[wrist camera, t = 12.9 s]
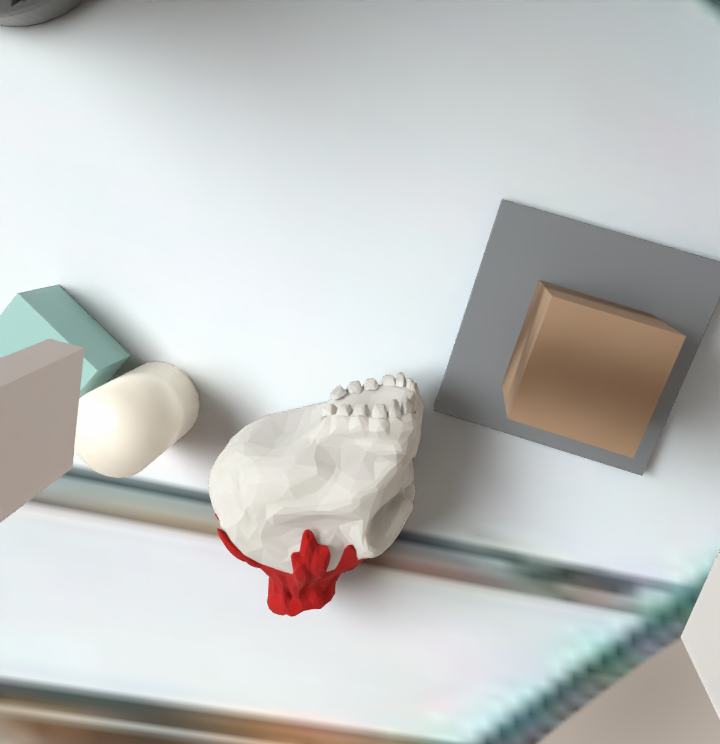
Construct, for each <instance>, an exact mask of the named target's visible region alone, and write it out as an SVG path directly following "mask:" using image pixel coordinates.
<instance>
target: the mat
mask: <svg viewBox="0 0 720 744" xmlns="http://www.w3.org/2000/svg"><path fill="white" fill-rule="evenodd" d="M539 280H540V281H544V282H547V283H550V284H554V285H557V286H560V287H564V288H567V289H570V290H574V291H577V292H580V293H584V294H587V295H590V296H594V297H597V298H600V299H604V300H607V301H610V302H614V303H617V304H620V305H624V306H627V307H630V308H634V309H637V310H640V311H644V312H647V313H650V314H652V315H654V316H655V317H657V318H658V319H660V320H661V321H663V322H664V323H666V324H668V325H669V326H671V327H672V328H674V329H675V330H677V331H678V332H680V333H681V334H683V335H685V336H686V338H685V340H684V342H683V345H682V347H681V349H680V352H679V354H678V356H677V359H676V361H675V363H674V365H673V368H672V370H671V372H670V375H669V377H668V379H667V382H666V384H665V386H664V389H663V391H662V393H661V396H660V398H659V400H658V403H657V405H656V407H655V409H654V412H653V414H652V416H651V419H650V421H649V423H648V426H647V428H646V430H645V433H644V435H643V437H642V440H641V442H640V444H639V446H638V449H637V451H636V453H635V456H634V458H631V457H628V456H624V455H621V454H618V453H615V452H612V451H609V450H605V449H602V448H599V447H596V446H593V445H590V444H586V443H583V442H580V441H577V440H574V439H571V438H567V437H564V436H561V435H558V434H555V433H552V432H548V431H545V430H542V429H539V428H536V427H533V426H530V425H526V424H523V423H520V422H517V421H514V420H511V419H507V413H506V407H505V402H504V396H503V390H502V382H503V379H504V376H505V373H506V370H507V368H508V365H509V362H510V359H511V357H512V354H513V351H514V348H515V345H516V343H517V340H518V337H519V334H520V331H521V329H522V326H523V323H524V320H525V317H526V315H527V312H528V309H529V306H530V303H531V301H532V298H533V295H534V292H535V289H536V287H537V284H538V281H539ZM719 298H720V262H718V261H715V260H712V259H708V258H705V257H701V256H698V255H694V254H691V253H687V252H684V251H680V250H677V249H673V248H670V247H666V246H663V245H659V244H656V243H652V242H649V241H645V240H642V239H638V238H635V237H632V236H628V235H625V234H621V233H618V232H614V231H611V230H607V229H604V228H600V227H597V226H593V225H590V224H586V223H583V222H579V221H576V220H572V219H569V218H565V217H562V216H558V215H555V214H552V213H548V212H545V211H541V210H538V209H534V208H531V207H527V206H524V205H520V204H517V203H513V202H510V201H506V200H503V199H502V200H501V204H500V207H499V210H498V213H497V216H496V219H495V222H494V225H493V228H492V231H491V234H490V237H489V240H488V243H487V246H486V249H485V253H484V256H483V259H482V262H481V265H480V268H479V271H478V274H477V277H476V280H475V283H474V286H473V289H472V292H471V295H470V298H469V302H468V305H467V308H466V311H465V314H464V317H463V320H462V323H461V326H460V329H459V332H458V335H457V338H456V341H455V344H454V347H453V350H452V354H451V357H450V360H449V363H448V366H447V369H446V372H445V375H444V378H443V381H442V384H441V387H440V390H439V393H438V396H437V399H436V403H435V406H434V410H435V411H438V412H441V413H444V414H447V415H451V416H454V417H457V418H460V419H463V420H467V421H470V422H473V423H476V424H479V425H482V426H486V427H489V428H492V429H495V430H498V431H502V432H505V433H508V434H511V435H514V436H517V437H521V438H524V439H527V440H530V441H533V442H537V443H540V444H543V445H546V446H549V447H552V448H556V449H559V450H562V451H565V452H568V453H572V454H575V455H578V456H581V457H584V458H588V459H591V460H594V461H597V462H600V463H603V464H607V465H610V466H613V467H616V468H619V469H623V470H626V471H629V472H632V473H635V474H638V475H643V473H644V470H645V468H646V466H647V464H648V461H649V459H650V457H651V454H652V452H653V450H654V448H655V445H656V443H657V441H658V438H659V436H660V434H661V431H662V429H663V427H664V425H665V422H666V420H667V418H668V415H669V413H670V411H671V408H672V406H673V404H674V402H675V399H676V397H677V395H678V392H679V390H680V388H681V385H682V383H683V381H684V379H685V376H686V374H687V372H688V369H689V367H690V365H691V362H692V360H693V358H694V356H695V353H696V351H697V349H698V346H699V344H700V342H701V339H702V337H703V335H704V333H705V330H706V328H707V326H708V323H709V321H710V319H711V316H712V314H713V312H714V310H715V307H716V305H717V303H718V300H719Z"/></svg>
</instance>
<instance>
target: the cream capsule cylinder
mask: <svg viewBox="0 0 720 744" xmlns="http://www.w3.org/2000/svg"><path fill="white" fill-rule="evenodd" d="M199 409H200V402H199V396H198V392H197V390H196V387H195V386H194V384H193V382H192V381H191V379H190V378H189V377H188V376H187V375H186V374H185V373H184V372H183V371H182V370H180V369H179V368H177V367H175V366H173V365H171V364H168V363H164V362H150V363H146V364H143V365H141V366H139V367H137V368H135V369H133V370H131V371H129V372H127V373H125V374H123V375H121V376H119V377H118V378H116V379H114V380H112V381H110V382H108V383H106V384H104V385H102V386H100V387H98V388H96V389H94V390H92V391H90V392H88V393H87V394H85V395H84V396H82V397H81V398H80V399H79V407H78V416H77V426H76V436H75V446H74V449H75V451H76V453H77V454H78V456H79V457H80V458H81V460H82V461H83V462H84V463H85V464H86V465H88V466H89V467H90V468H92V469H93V470H95V471H96V472H98V473H101V474H103V475H106V476H110V477H119V478H122V477H128V476H132V475H134V474H137V473H139V472H140V471H142V470H143V469H144V468H145V467H147V466H148V465H149V464H150V463H151V462H153V461H154V460H155V459H156V458H157V457H158V456H160V455H161V454H162V453H163V452H164V451H166V450H167V449H168V448H169V447H170V446H172V445H173V444H174V443H175V442H176V441H178V440H179V439H180V438H181V437H182V436H183V435H185V434H186V433H187V432H188V431H189V430H190V429H191V428H192V427H193V426H194V424H195V423H196V420H197V418H198V415H199Z"/></svg>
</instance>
